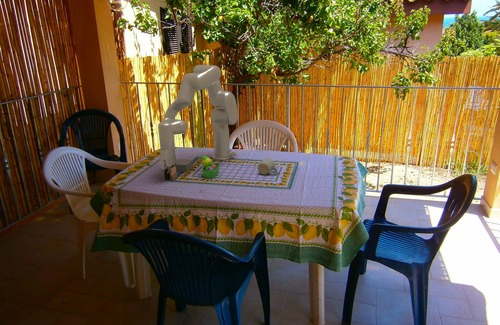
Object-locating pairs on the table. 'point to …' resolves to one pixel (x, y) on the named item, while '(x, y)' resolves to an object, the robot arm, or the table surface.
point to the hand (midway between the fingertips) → (170, 176)
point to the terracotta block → (172, 172)
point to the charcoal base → (183, 164)
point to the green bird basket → (209, 167)
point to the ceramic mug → (267, 167)
